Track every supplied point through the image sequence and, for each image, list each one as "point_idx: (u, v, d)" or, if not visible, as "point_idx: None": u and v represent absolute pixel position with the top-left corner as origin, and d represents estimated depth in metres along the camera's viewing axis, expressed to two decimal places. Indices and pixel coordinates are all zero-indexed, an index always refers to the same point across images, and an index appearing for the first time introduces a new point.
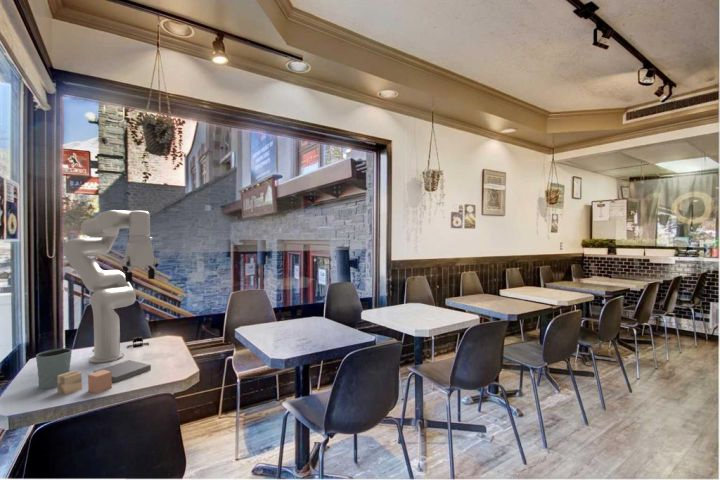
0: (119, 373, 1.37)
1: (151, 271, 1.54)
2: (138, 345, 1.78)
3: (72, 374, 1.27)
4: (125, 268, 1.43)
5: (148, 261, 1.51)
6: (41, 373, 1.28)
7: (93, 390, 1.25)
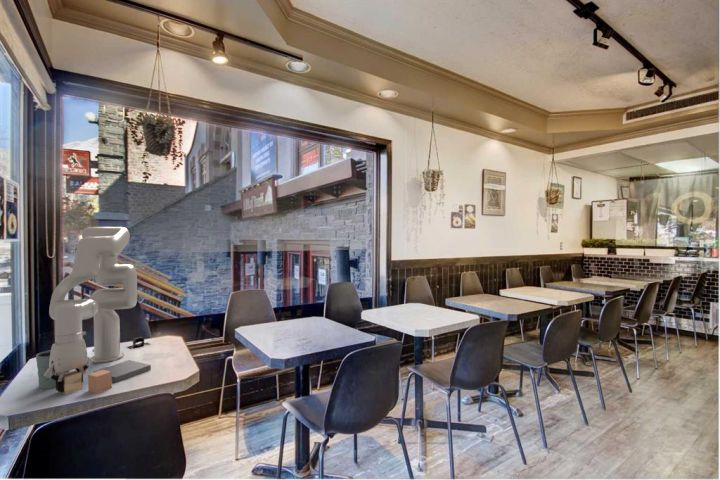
0: (119, 373, 1.37)
1: None
2: (140, 345, 1.78)
3: (72, 374, 1.27)
4: (55, 377, 1.22)
5: (79, 362, 1.28)
6: (41, 373, 1.28)
7: (93, 390, 1.25)
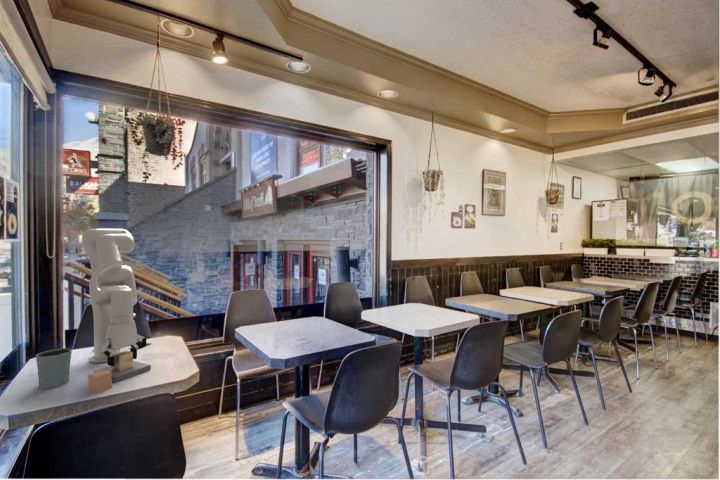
0: (119, 373, 1.37)
1: (133, 351, 1.46)
2: (144, 345, 1.78)
3: (125, 353, 1.43)
4: (107, 353, 1.37)
5: (131, 341, 1.44)
6: (41, 373, 1.28)
7: (93, 390, 1.25)
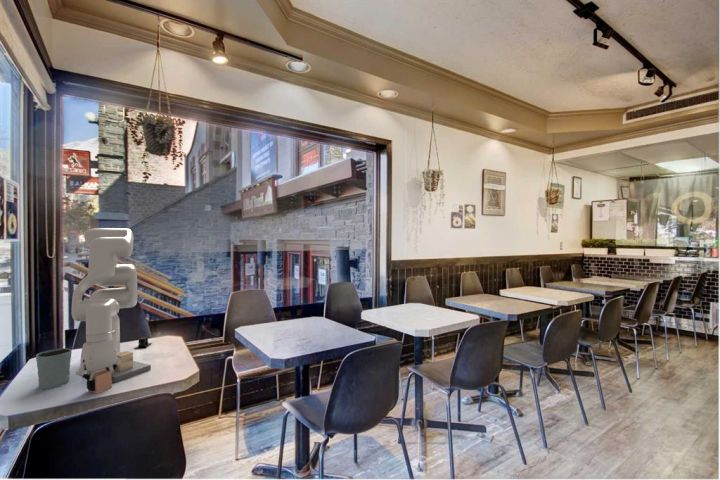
0: (119, 373, 1.37)
1: None
2: (147, 344, 1.79)
3: (125, 353, 1.43)
4: (86, 376, 1.23)
5: (109, 361, 1.29)
6: (41, 373, 1.28)
7: None
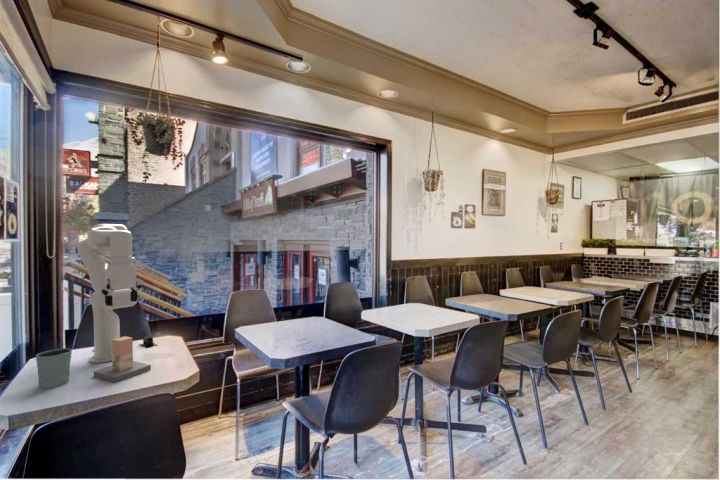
0: (119, 373, 1.37)
1: (133, 293, 1.46)
2: None
3: None
4: (105, 292, 1.36)
5: (130, 283, 1.44)
6: (41, 373, 1.28)
7: (117, 353, 1.40)
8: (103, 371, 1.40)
